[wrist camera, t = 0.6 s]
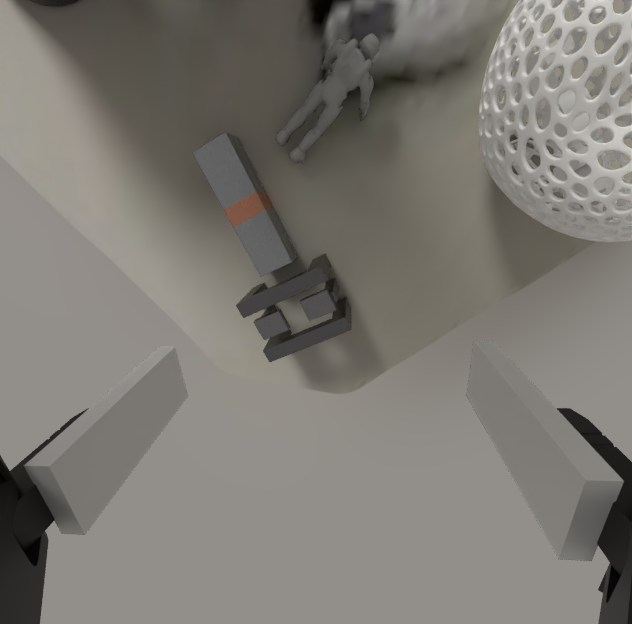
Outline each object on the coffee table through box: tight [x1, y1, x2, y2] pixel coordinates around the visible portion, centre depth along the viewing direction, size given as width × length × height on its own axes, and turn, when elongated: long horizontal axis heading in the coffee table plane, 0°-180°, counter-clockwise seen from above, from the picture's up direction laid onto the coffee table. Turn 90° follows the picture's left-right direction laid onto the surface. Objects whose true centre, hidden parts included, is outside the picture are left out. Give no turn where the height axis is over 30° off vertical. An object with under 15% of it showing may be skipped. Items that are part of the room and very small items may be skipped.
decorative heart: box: [479, 0, 632, 242], centre depth 24 cm, size 18×11×17 cm, turn 31°
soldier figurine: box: [275, 33, 380, 163], centre depth 30 cm, size 6×5×12 cm
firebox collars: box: [236, 254, 351, 362], centre depth 37 cm, size 8×10×7 cm
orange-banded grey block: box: [193, 132, 297, 277], centre depth 35 cm, size 14×4×4 cm, turn 26°
